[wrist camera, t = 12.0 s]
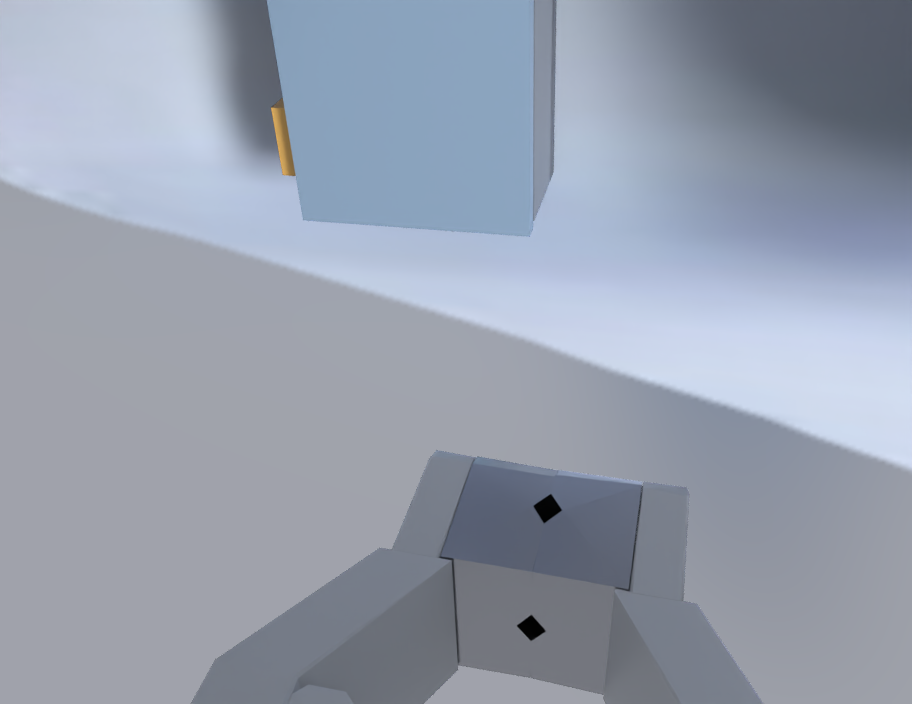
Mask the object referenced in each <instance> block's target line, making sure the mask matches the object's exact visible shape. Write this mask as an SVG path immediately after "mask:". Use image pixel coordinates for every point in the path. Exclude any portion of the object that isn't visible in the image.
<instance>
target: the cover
mask: <svg viewBox="0 0 912 704" xmlns="http://www.w3.org/2000/svg"><path fill="white" fill-rule="evenodd" d="M267 5H268V12H269V18H270V24H271V30H272V36H273V42H274V48H275V54H276V60H277V66H278V72H279V78H280V84H281V90H282V96H283V98H282V99H281V100H279V101H278V102H277V103H276V104H275V105H274V106H272V107H271V110H272V116H273V122H274V127H275V133H276V139H277V145H278V150H279V156H280V162H281V168H282V173H283V175H289V176H296V180H297V186H298V193H299V199H300V205H301V211H302V217H303V220H306V221H320V222H334V223H348V224H361V225H375V226H389V227H403V228H417V229H431V230H445V231H458V232H472V233H486V234H500V235H514V236H528V237H530V235H531V232H532V230H533V88H534V0H267Z"/></svg>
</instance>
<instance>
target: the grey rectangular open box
mask: <svg viewBox="0 0 912 704" xmlns="http://www.w3.org/2000/svg"><path fill="white" fill-rule="evenodd" d="M555 47H556V0H534V88H533V221H534V220H535V218H536V215H537V213H538V210H539V207H540V205H541V202H542V200H543V197H544V195H545V192H546V190H547V187H548V185H549V182H550V180H551V177H552V175H553V168H554V107H555Z"/></svg>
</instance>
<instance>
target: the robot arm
mask: <svg viewBox="0 0 912 704" xmlns="http://www.w3.org/2000/svg"><path fill="white" fill-rule="evenodd" d="M641 489H642V492H641ZM640 499H641V501H640ZM639 507H640V509H639ZM688 512H689V491H688V489H687V488H686V487H679V486H672V485H665V484H658V483H650V482H644V483H643V486H642V482H641V481H634V480H627V479H620V478H612V477H605V476H597V475H591V474H583V473H576V472H569V471H562V470H553V469H547V468H541V467H535V466H529V465H524V464H518V463H512V462H506V461H500V460H495V459H489V458H483V457H471V456H466V455H460V454H455V453H449V452H444V451H438V450H437V451H436V452H435V453H434V454H433V455H432V456H431V457H430V459H429V460H428V463H427V465H426V468H425V470H424V472H423V475H422V477H421V480H420V483H419V485H418V487H417V489H416V492H415V495H414V497H413V500H412V502H411V504H410V506H409V509H408V511H407V514H406V516H405V519H404V521H403V524H402V526H401V528H400V531H399V533H398V536H397V538H396V540H395V543H394V545H393V548H392V549H385V548H379V549H377V550H376V551H375V552H373V553H371V554H370V555H368V556H367V557H365V558H364V559H363V560H361V561H360V562H358V563H357V564H355V565H354V566H352V567H351V568H349V569H348V570H346V571H345V572H343V573H342V574H340V575H339V576H338V577H336V578H335V579H333V580H332V581H330V582H329V583H327V584H326V585H324V586H323V587H321V588H320V589H319V590H317V591H316V592H314V593H313V594H311V595H310V596H308V597H307V598H305V599H304V600H302V601H301V602H299V603H298V604H296V605H295V606H293V607H292V608H290V609H289V610H287V611H286V612H285V613H283V614H282V615H280V616H279V617H277V618H276V619H274V620H273V621H272V622H270V623H268V624H267V625H265V626H264V627H263V628H261V629H260V630H258V631H257V632H255V633H254V634H252V635H251V636H249V637H248V638H246V639H245V640H243V641H242V642H240V643H239V644H237V645H236V646H235V647H233V648H232V649H230V650H229V651H227V652H226V653H225V654H223V655H221V656H220V657H218V658H217V659H215V661H214V663H213V664H212V666H211V668H210V670H209V672H208V673H207V675H206V677H205V679H204V681H203V683H202V684H201V686H200V688H199V690H198V691H197V693H196V695H195V697H194V699H193V700H192V702H191V704H424V703H425V702H426V701H427V700H428V699H429V698H430V697H431V696H432V695H433V694H434V693H435V692H436V691H437V690H438V689H439V688H440V687H441V686H442V685H443V684H444V683H445V682H446V681H447V680H448V679H449V678H450V677H451V676H452V675H453V674H454V673H455V672H456V671H457V670H458V665H460V666H466V667H472V668H477V669H483V670H489V671H494V672H500V673H506V674H512V675H517V676H523V677H529V678H530V677H531V678H533V679H537V680H542V681H546V682H551V683H555V684H559V685H563V686H568V687H572V688H576V689H581V690H585V691H589V692H594V693H598V694H602V695H604V697H603V698H604V701H605V703H606V704H763V702H762V701H761V699H760V698H759V696H758V694H757V693H756V691H755V690H754V688H753V687H752V685H751V684H750V682H749V681H748V680H747V678H746V677H745V675H744V674H743V672H742V670H741V669H740V667H739V666H738V665H737V663H736V661H735V660H734V659H733V657H732V655H731V654H730V652H729V651H728V650H727V648H726V646H725V645H724V643H723V642H722V640H721V639H720V637H719V636H718V634H717V633H716V631H715V630H714V629H713V627H712V626H711V624H710V622H709V621H708V619H707V618H706V616H705V615H704V613H703V612H702V611H701V609H700V608H699V606H698V604H695V603H691V602H686V601H683V598H684V581H685V563H686V546H687V528H688ZM638 516H639V517H638ZM637 524H638V526H637ZM636 532H637V534H636ZM635 541H636V542H635Z"/></svg>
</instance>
